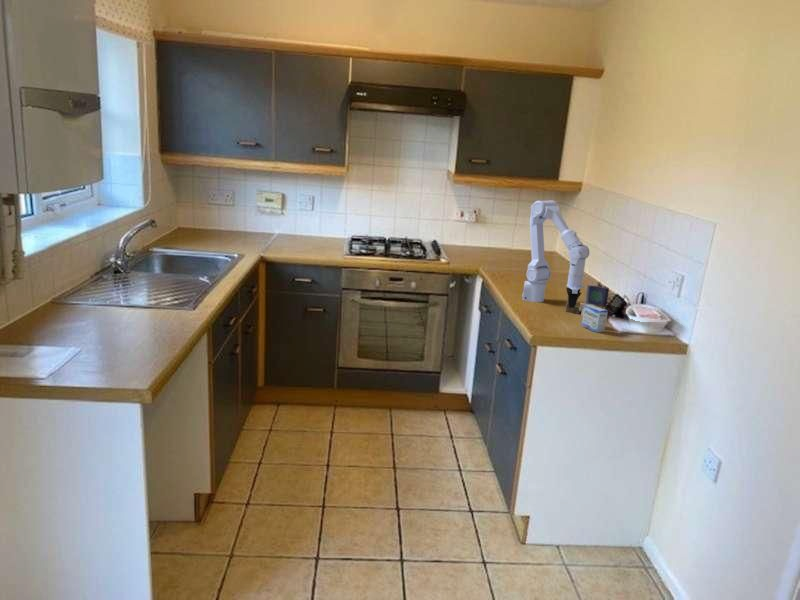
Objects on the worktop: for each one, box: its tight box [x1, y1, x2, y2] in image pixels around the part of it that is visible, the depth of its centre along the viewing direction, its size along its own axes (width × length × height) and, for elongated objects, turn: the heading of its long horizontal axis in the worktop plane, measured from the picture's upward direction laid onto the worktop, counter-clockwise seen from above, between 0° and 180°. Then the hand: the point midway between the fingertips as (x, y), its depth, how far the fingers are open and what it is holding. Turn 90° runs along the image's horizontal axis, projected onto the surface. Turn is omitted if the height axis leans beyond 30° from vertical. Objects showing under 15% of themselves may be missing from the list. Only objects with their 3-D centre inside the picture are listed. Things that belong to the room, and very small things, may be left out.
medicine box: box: [581, 304, 609, 333], centre depth 228 cm, size 8×4×9 cm, turn 31°
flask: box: [584, 281, 610, 307], centre depth 261 cm, size 9×3×11 cm, turn 59°
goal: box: [579, 302, 594, 317], centre depth 247 cm, size 5×9×3 cm, turn 167°
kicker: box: [565, 296, 580, 315], centre depth 247 cm, size 5×5×7 cm
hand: (571, 306), depth 248 cm, fingers closed on kicker, 3 cm apart
